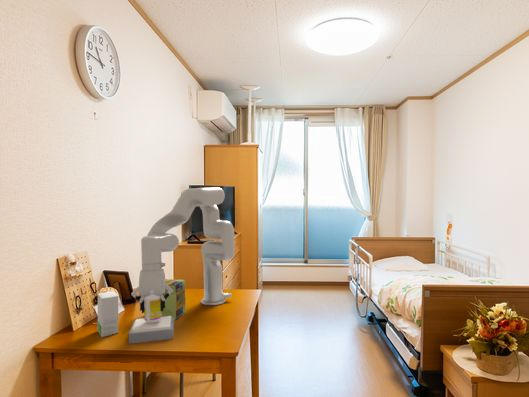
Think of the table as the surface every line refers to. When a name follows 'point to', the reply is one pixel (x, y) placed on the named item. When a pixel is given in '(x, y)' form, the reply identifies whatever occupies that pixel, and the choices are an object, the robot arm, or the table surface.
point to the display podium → (152, 330)
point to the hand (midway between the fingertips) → (152, 310)
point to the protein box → (175, 299)
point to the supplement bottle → (152, 308)
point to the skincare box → (107, 313)
